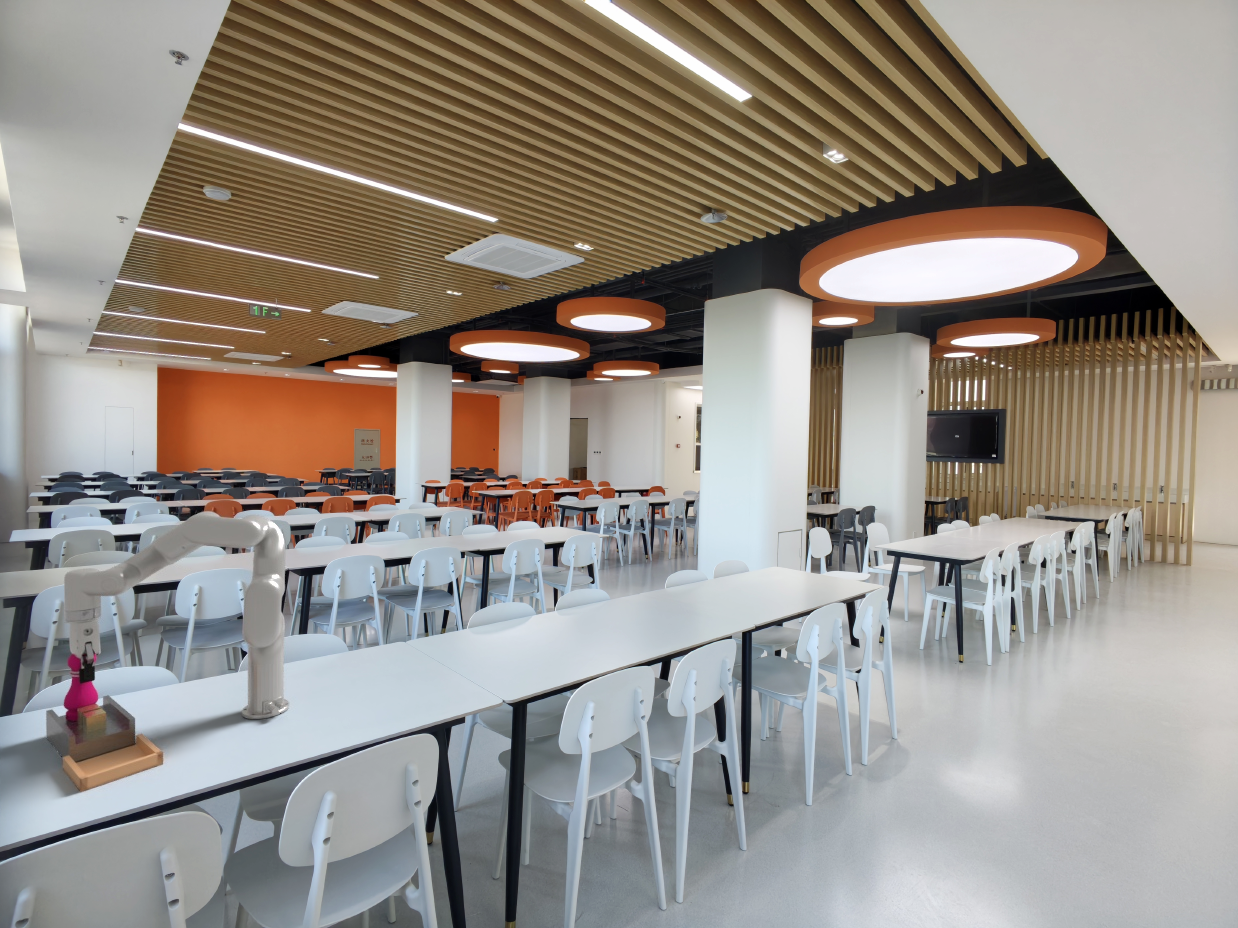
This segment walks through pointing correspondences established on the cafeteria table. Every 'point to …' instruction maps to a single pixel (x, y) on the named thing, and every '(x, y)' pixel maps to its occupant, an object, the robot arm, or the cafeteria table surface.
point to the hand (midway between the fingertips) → (83, 678)
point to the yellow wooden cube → (94, 720)
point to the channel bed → (91, 733)
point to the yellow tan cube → (85, 710)
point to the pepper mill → (78, 690)
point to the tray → (113, 764)
